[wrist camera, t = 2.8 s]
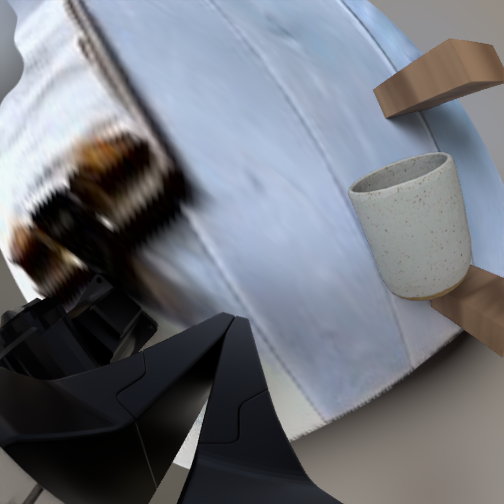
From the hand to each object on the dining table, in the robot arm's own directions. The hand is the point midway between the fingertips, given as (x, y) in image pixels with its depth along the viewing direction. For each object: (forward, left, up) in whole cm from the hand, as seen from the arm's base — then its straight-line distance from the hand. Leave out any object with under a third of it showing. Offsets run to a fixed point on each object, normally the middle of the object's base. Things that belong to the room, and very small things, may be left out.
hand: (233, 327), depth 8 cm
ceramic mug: (+11, -7, -12) cm, 18 cm away
